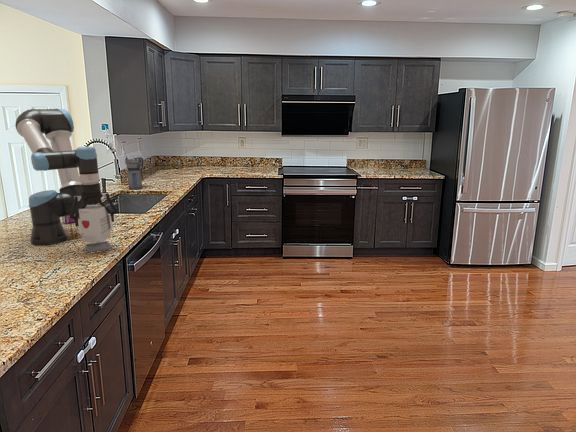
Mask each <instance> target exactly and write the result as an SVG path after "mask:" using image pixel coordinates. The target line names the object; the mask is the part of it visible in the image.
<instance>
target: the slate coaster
mask: <svg viewBox="0 0 576 432" xmlns="http://www.w3.org/2000/svg"><path fill="white" fill-rule="evenodd" d="M84 248H85V251H87V252H86V254H87V253H90V254H92V253H91V252H96V253H98V252H97V251H102V252H104V251H103V250H109V249H112V250H113V248H112V245H111V243H110V241H109V240H105V241H103V242H89V243H85V244H84ZM109 251H110V250H109Z"/></svg>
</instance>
